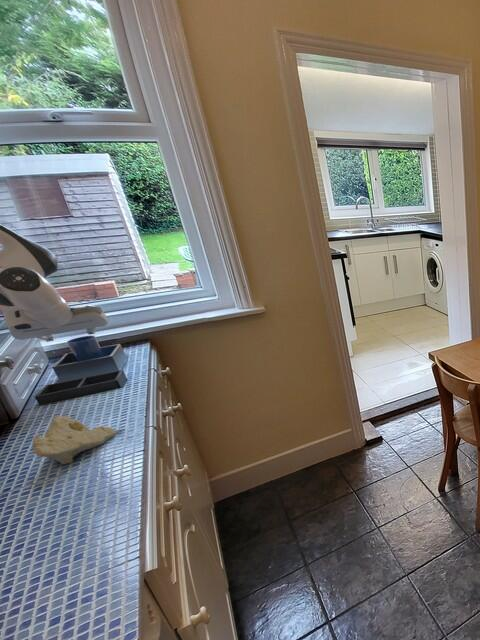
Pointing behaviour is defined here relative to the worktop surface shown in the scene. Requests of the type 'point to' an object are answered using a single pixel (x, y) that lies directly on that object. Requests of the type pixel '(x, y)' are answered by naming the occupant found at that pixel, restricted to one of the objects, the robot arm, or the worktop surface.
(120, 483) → the worktop surface
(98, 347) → the cup
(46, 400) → the divided tray
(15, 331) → the robot arm
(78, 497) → the worktop surface
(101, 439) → the cheese
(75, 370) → the sink
